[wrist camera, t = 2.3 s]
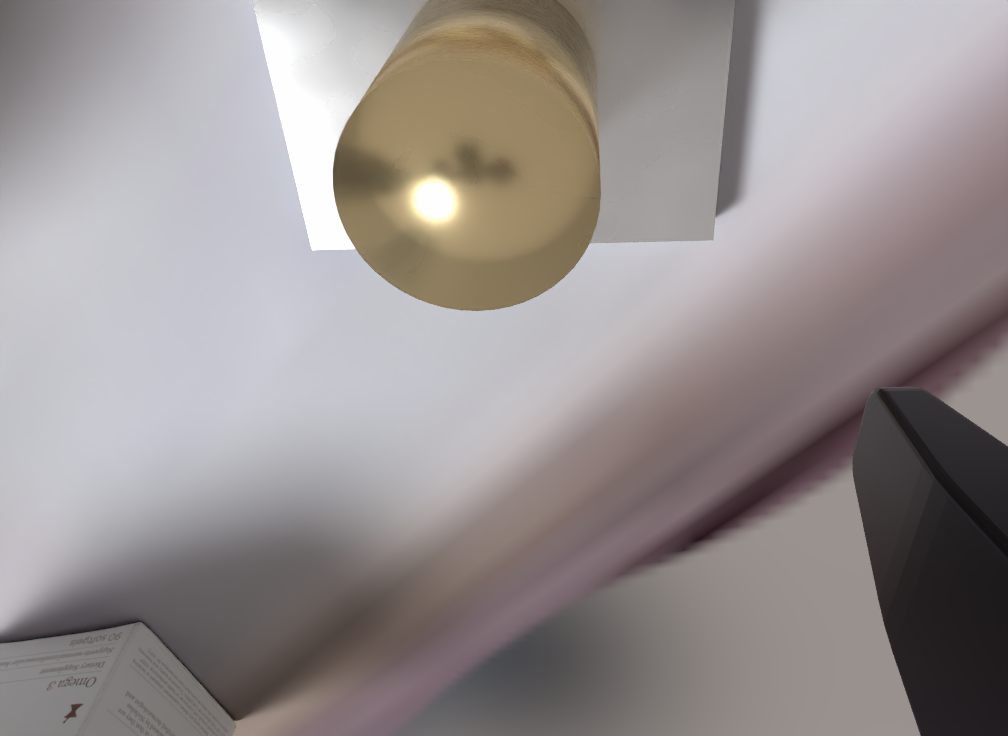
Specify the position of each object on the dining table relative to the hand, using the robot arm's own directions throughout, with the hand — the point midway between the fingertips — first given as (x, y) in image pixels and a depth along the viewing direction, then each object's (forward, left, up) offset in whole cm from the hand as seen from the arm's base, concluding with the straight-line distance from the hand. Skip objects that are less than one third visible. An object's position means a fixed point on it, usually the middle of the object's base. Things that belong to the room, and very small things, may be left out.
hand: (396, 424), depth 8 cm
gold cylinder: (0, 0, -10) cm, 10 cm away
